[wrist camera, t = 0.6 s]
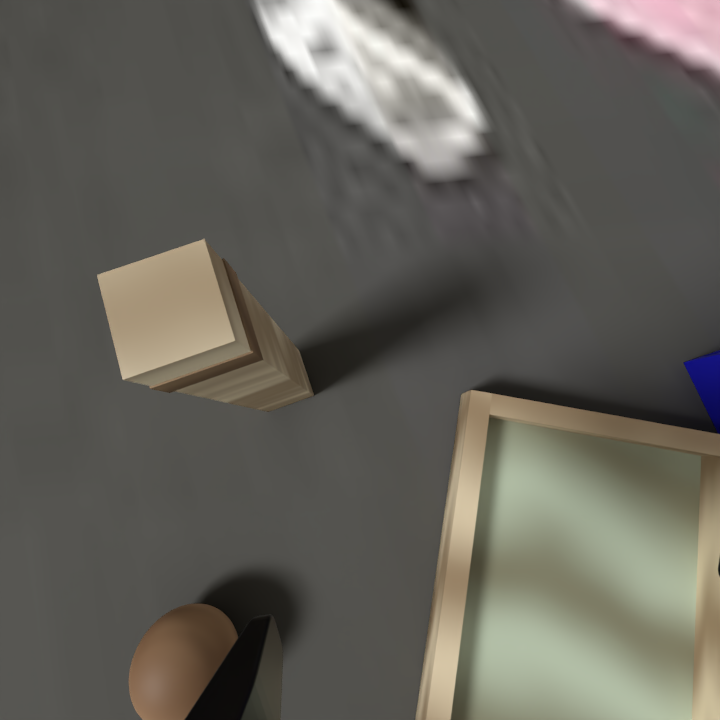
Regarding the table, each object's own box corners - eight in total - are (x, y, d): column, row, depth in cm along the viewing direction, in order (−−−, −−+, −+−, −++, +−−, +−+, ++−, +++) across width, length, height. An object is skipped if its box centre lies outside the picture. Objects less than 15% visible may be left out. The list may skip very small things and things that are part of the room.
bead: (239, 697, 19) (202, 773, 15) (151, 677, 20) (89, 746, 15) (260, 598, 20) (230, 643, 16) (175, 580, 20) (123, 619, 16)
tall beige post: (315, 396, 22) (237, 342, 9) (267, 413, 22) (121, 382, 9) (299, 349, 22) (205, 236, 10) (253, 366, 22) (94, 273, 9)
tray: (699, 850, 18) (745, 908, 16) (406, 781, 19) (411, 827, 16) (712, 439, 21) (751, 439, 19) (461, 394, 22) (471, 389, 19)
